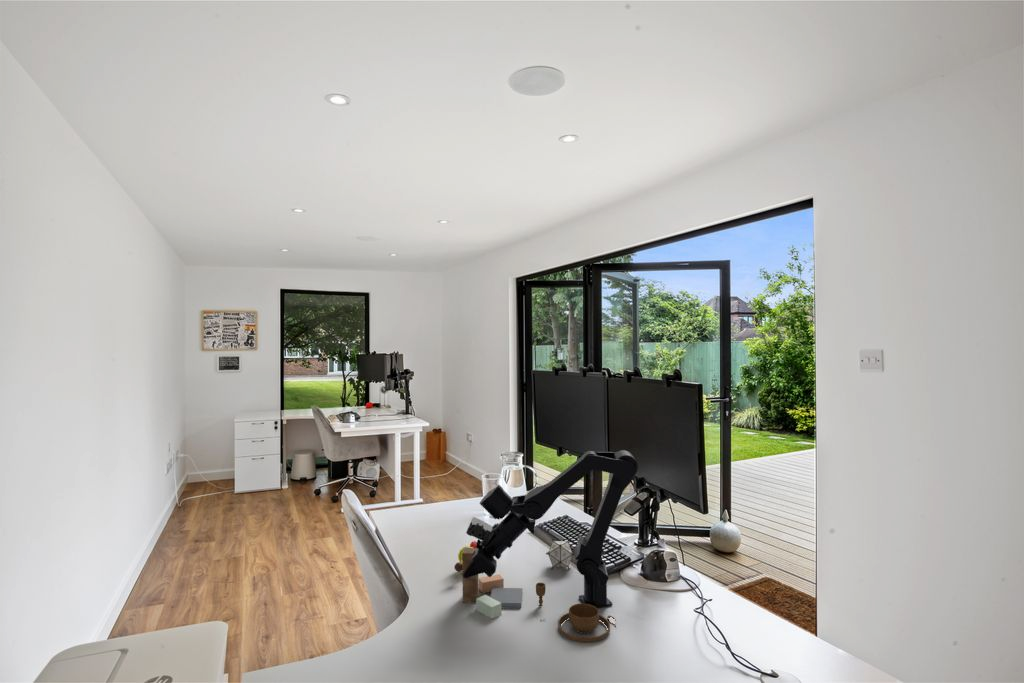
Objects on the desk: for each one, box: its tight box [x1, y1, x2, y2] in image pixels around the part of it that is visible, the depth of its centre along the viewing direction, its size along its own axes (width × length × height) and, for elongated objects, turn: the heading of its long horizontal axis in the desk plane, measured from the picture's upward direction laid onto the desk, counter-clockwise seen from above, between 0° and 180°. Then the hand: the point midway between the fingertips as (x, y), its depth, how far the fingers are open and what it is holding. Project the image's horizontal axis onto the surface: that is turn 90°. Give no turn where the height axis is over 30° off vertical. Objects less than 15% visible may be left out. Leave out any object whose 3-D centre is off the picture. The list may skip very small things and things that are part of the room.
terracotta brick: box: [478, 574, 505, 594], centre depth 148 cm, size 6×3×3 cm, turn 112°
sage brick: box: [475, 594, 502, 619], centre depth 136 cm, size 6×3×3 cm, turn 43°
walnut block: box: [462, 548, 480, 603], centre depth 143 cm, size 4×4×12 cm
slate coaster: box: [489, 587, 524, 609], centre depth 142 cm, size 8×8×1 cm
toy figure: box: [454, 541, 477, 572], centre depth 160 cm, size 18×6×7 cm, turn 168°
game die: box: [545, 538, 575, 571], centre depth 162 cm, size 9×8×10 cm
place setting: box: [535, 582, 617, 643], centre depth 132 cm, size 18×20×6 cm
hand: (465, 573), depth 143 cm, fingers closed on walnut block, 4 cm apart
